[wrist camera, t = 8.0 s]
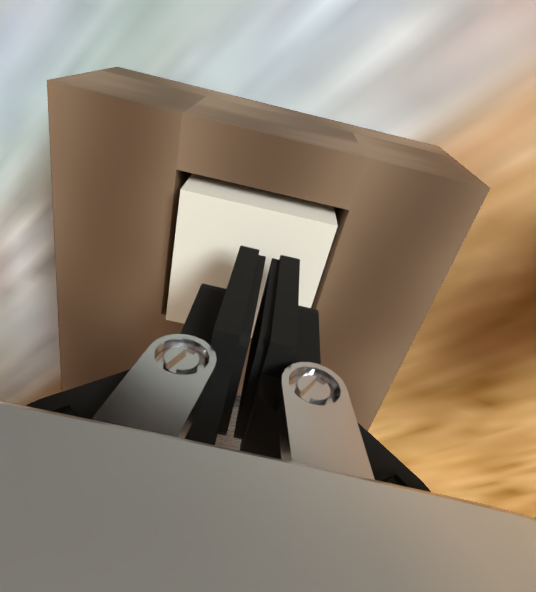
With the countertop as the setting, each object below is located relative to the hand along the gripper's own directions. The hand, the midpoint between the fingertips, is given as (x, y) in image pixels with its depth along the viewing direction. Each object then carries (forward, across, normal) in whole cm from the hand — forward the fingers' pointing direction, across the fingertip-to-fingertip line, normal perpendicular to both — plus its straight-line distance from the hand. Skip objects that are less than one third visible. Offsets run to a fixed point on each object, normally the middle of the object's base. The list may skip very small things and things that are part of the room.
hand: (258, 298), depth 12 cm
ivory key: (+5, +1, 0) cm, 5 cm away
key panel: (+7, +1, +8) cm, 10 cm away
